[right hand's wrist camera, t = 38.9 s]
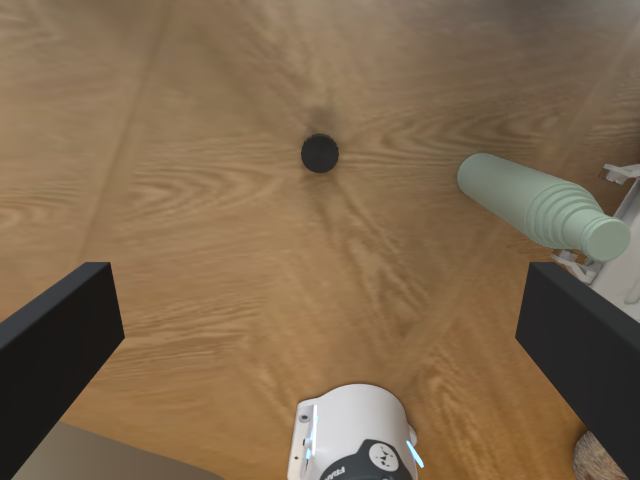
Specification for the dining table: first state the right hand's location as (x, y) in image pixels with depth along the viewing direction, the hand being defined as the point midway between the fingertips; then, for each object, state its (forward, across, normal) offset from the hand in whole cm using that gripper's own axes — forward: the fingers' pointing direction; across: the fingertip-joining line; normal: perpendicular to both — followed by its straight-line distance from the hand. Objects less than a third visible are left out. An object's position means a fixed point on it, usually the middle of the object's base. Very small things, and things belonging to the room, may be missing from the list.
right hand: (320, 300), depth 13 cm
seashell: (+36, +43, -44) cm, 71 cm away
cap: (+34, 0, 0) cm, 34 cm away
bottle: (+36, +19, -3) cm, 40 cm away
